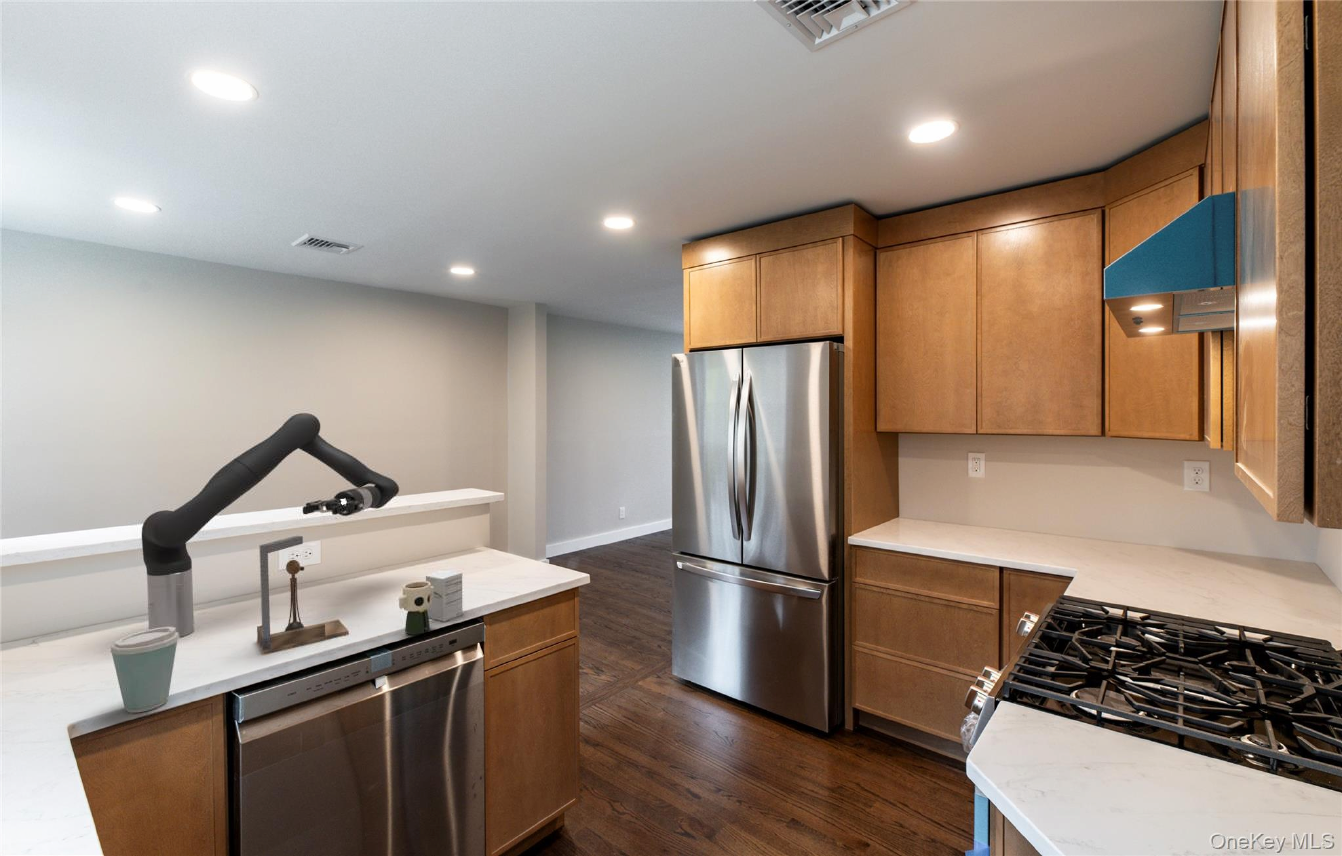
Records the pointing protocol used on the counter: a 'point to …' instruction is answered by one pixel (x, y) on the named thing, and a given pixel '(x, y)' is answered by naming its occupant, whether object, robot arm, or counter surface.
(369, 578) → the counter surface
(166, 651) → the disposable coffee cup
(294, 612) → the wooden tabletop sculpture
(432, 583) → the supplement box
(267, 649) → the stand
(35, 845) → the counter surface
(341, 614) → the counter surface
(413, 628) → the character mug
